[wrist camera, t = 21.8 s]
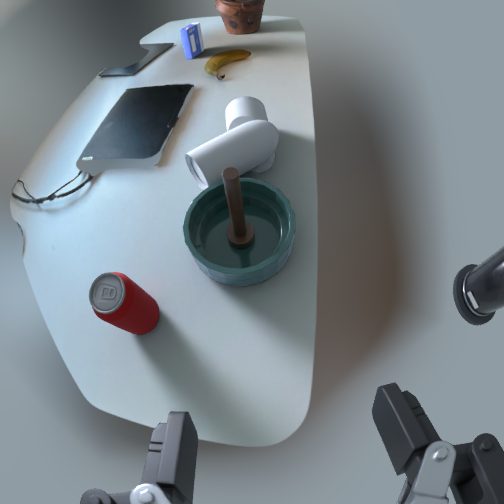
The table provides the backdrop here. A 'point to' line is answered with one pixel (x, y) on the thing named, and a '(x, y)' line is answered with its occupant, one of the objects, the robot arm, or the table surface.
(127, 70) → the table surface
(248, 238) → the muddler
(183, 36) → the walkman
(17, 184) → the table surface
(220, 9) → the brown pot
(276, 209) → the bowl
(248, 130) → the elbow connector
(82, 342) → the table surface
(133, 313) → the beverage can
